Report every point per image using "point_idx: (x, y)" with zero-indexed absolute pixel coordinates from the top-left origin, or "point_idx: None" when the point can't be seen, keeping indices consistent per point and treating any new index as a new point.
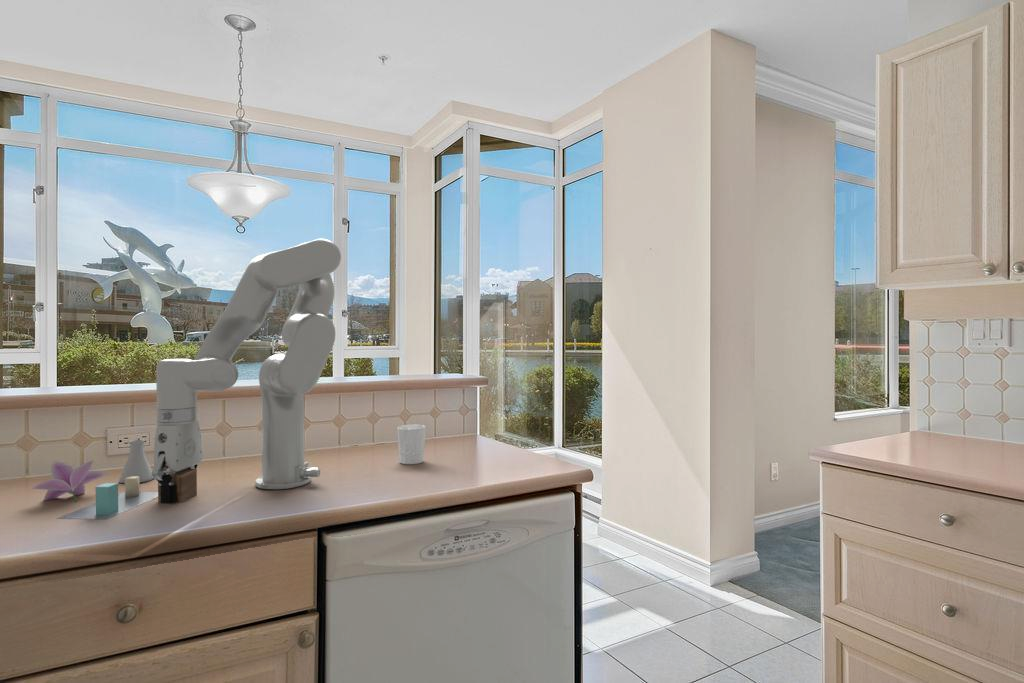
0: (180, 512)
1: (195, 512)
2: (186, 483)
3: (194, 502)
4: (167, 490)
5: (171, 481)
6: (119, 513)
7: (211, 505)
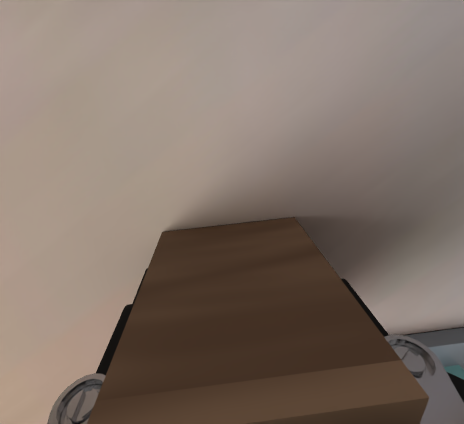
0: (404, 146)
1: (416, 48)
2: (283, 301)
3: (227, 196)
4: None
5: (441, 372)
6: (452, 345)
7: (271, 38)
